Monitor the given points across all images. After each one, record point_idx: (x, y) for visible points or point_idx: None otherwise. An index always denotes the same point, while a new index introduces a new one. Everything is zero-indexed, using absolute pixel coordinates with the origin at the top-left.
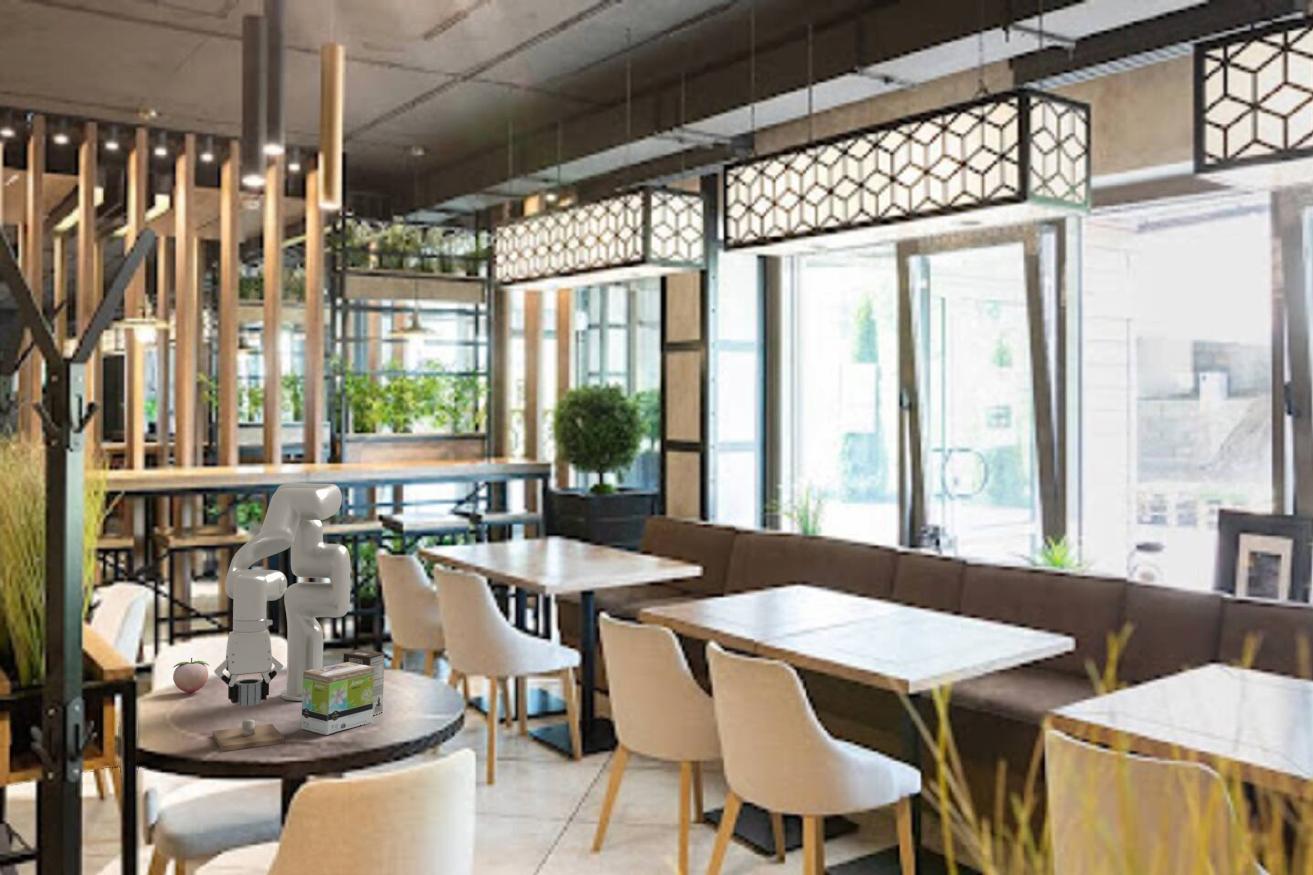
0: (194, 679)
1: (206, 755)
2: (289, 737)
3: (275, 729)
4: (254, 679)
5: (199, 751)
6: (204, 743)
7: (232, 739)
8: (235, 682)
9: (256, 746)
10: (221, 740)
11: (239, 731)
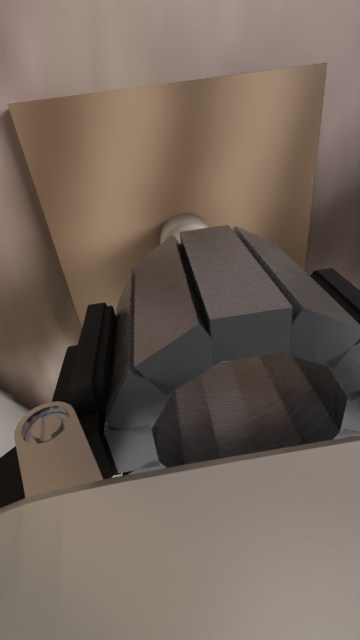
0: None
1: (45, 370)
2: (328, 253)
3: (306, 195)
4: (330, 359)
5: (11, 327)
6: (6, 232)
7: (121, 289)
8: (117, 433)
9: None
10: (78, 291)
11: (150, 170)
